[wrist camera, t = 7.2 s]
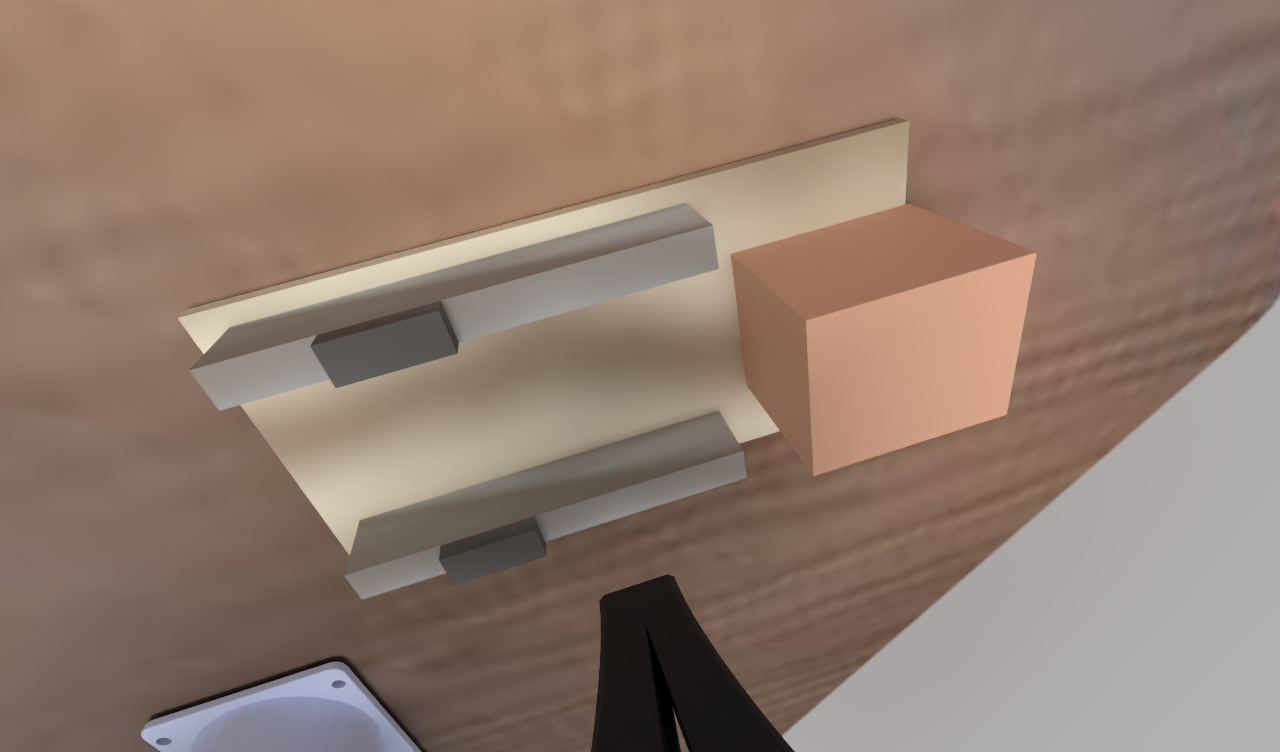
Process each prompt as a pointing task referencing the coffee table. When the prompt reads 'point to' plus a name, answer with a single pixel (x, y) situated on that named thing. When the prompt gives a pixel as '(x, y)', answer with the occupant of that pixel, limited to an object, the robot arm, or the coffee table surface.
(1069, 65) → the coffee table surface
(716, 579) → the coffee table surface
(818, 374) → the block
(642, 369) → the chute
